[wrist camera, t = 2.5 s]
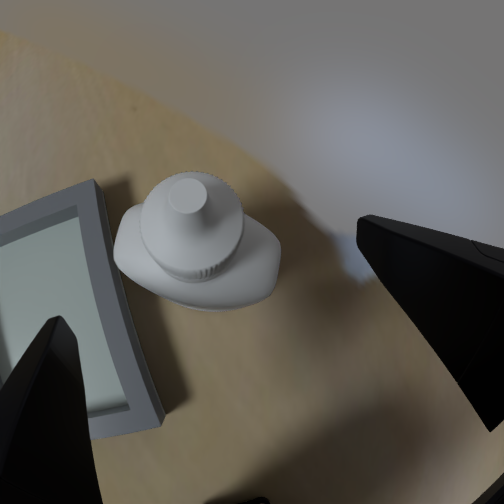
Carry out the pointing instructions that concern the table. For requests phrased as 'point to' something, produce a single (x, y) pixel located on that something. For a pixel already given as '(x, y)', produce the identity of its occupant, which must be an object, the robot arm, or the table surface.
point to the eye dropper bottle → (197, 246)
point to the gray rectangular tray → (75, 304)
